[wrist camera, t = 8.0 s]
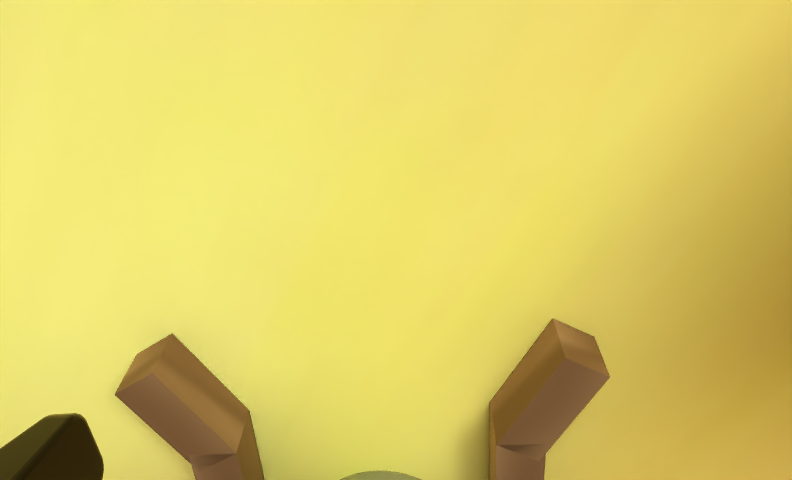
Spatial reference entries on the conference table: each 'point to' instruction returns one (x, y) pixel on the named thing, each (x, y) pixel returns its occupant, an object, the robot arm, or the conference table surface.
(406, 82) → the conference table surface
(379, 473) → the jar
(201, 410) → the lane
